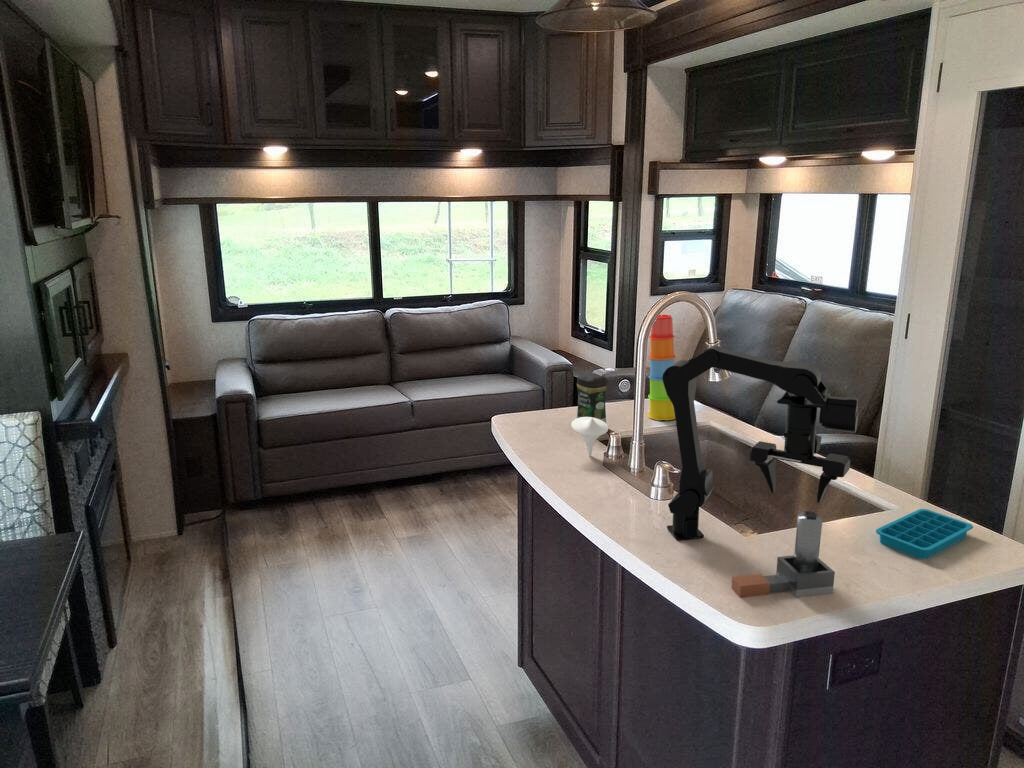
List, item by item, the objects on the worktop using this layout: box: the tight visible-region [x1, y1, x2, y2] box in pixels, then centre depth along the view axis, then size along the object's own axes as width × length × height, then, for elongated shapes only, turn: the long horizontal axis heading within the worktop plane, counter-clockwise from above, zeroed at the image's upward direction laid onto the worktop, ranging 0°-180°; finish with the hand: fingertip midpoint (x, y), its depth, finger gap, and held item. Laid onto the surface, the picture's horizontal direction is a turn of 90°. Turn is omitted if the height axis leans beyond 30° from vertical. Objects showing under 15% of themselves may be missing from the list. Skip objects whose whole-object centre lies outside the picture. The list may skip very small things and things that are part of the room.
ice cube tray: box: [875, 508, 974, 560], centre depth 163 cm, size 12×20×3 cm, turn 124°
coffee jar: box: [576, 371, 608, 424], centre depth 240 cm, size 10×8×19 cm
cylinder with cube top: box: [793, 510, 824, 574], centre depth 144 cm, size 4×4×14 cm
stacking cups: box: [647, 314, 676, 421], centre depth 249 cm, size 10×10×35 cm
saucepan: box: [731, 554, 836, 598], centre depth 145 cm, size 8×18×4 cm, turn 99°
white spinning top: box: [571, 417, 609, 457], centre depth 217 cm, size 10×11×12 cm
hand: (795, 497), depth 155 cm, fingers open, 9 cm apart
